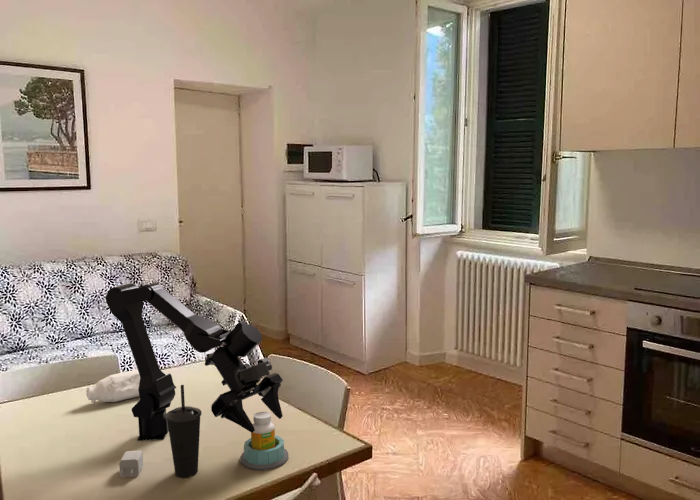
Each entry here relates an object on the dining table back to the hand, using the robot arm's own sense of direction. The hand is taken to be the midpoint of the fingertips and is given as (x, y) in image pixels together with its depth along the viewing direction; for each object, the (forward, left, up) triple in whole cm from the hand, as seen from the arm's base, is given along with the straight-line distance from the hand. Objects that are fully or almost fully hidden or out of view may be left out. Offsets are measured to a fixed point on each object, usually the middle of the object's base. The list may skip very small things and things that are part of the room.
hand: (267, 424), depth 138 cm
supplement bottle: (-1, +1, -8) cm, 8 cm away
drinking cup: (-18, -4, -9) cm, 20 cm away
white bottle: (-45, +44, -9) cm, 63 cm away
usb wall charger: (-30, -4, -9) cm, 32 cm away
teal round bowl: (-1, +1, -9) cm, 9 cm away
